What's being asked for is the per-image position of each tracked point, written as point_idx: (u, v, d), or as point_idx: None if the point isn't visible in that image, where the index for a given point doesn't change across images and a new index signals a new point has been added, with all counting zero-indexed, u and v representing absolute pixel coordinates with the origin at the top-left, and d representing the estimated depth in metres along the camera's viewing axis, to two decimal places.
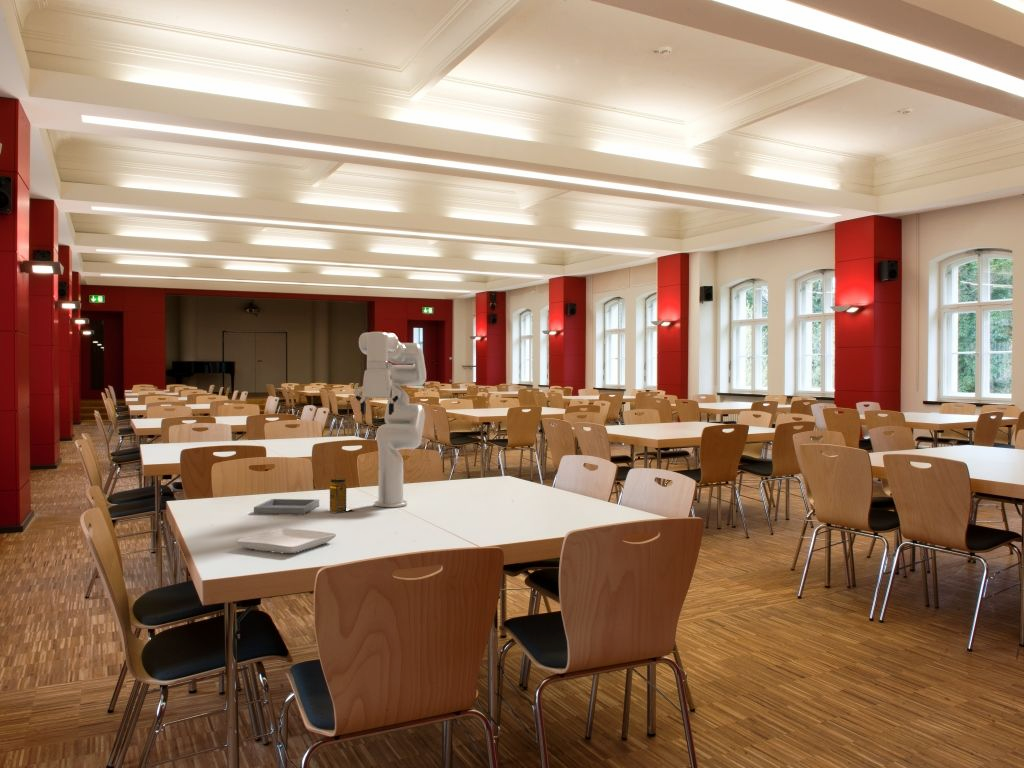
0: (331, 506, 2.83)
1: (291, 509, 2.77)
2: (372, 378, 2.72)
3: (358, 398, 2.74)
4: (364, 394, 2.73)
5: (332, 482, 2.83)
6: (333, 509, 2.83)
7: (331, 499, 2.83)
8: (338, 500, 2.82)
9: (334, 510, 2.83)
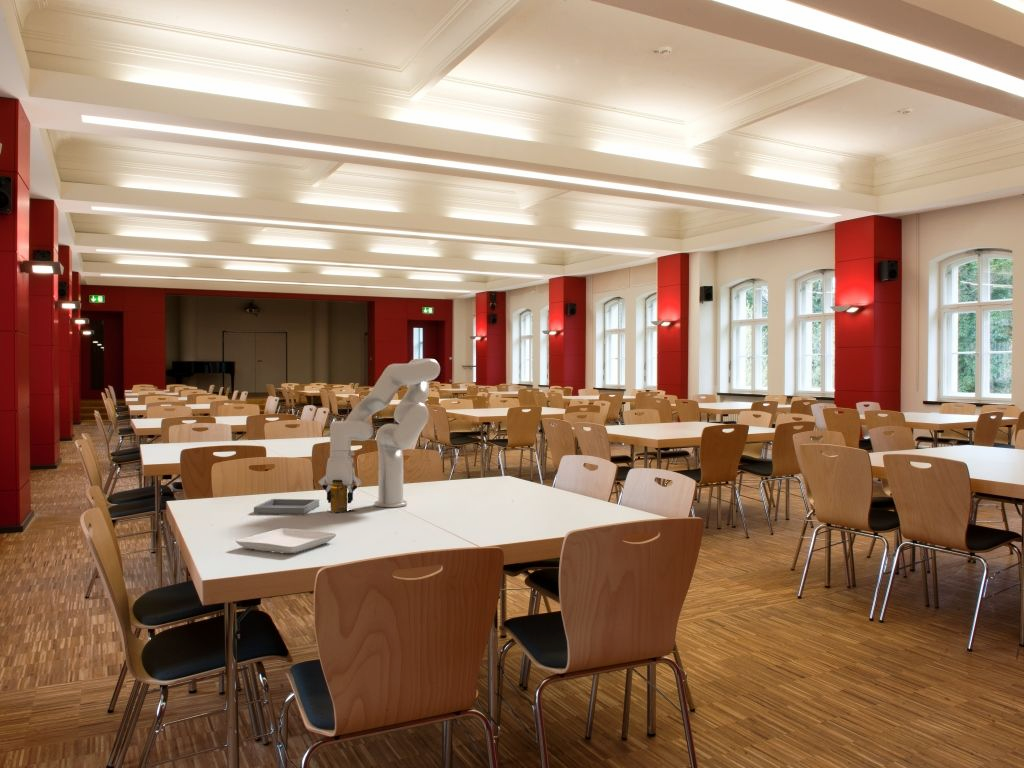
0: (332, 506, 2.83)
1: (291, 509, 2.77)
2: (334, 466, 2.83)
3: (324, 487, 2.85)
4: (327, 481, 2.84)
5: (333, 482, 2.83)
6: (334, 509, 2.83)
7: (332, 499, 2.83)
8: (339, 500, 2.82)
9: (335, 510, 2.82)
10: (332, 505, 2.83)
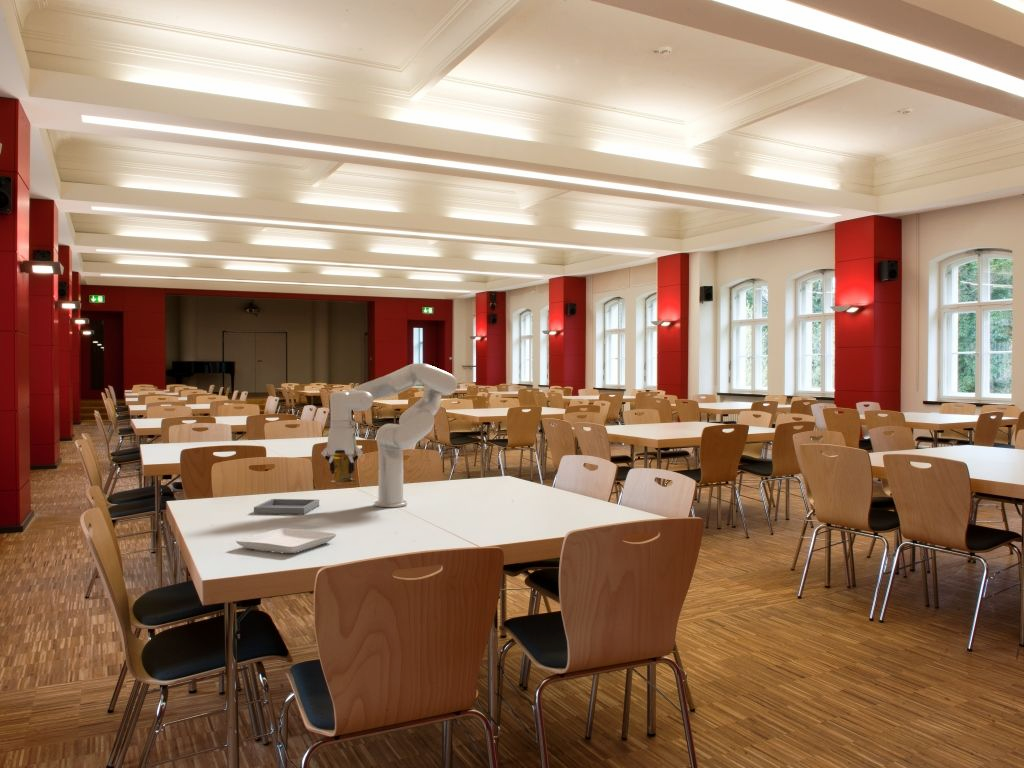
0: (335, 476, 2.84)
1: (291, 509, 2.77)
2: (336, 437, 2.83)
3: (327, 458, 2.85)
4: (329, 452, 2.84)
5: (335, 453, 2.83)
6: (337, 479, 2.83)
7: (335, 469, 2.83)
8: (342, 470, 2.83)
9: (338, 480, 2.83)
10: (335, 475, 2.83)
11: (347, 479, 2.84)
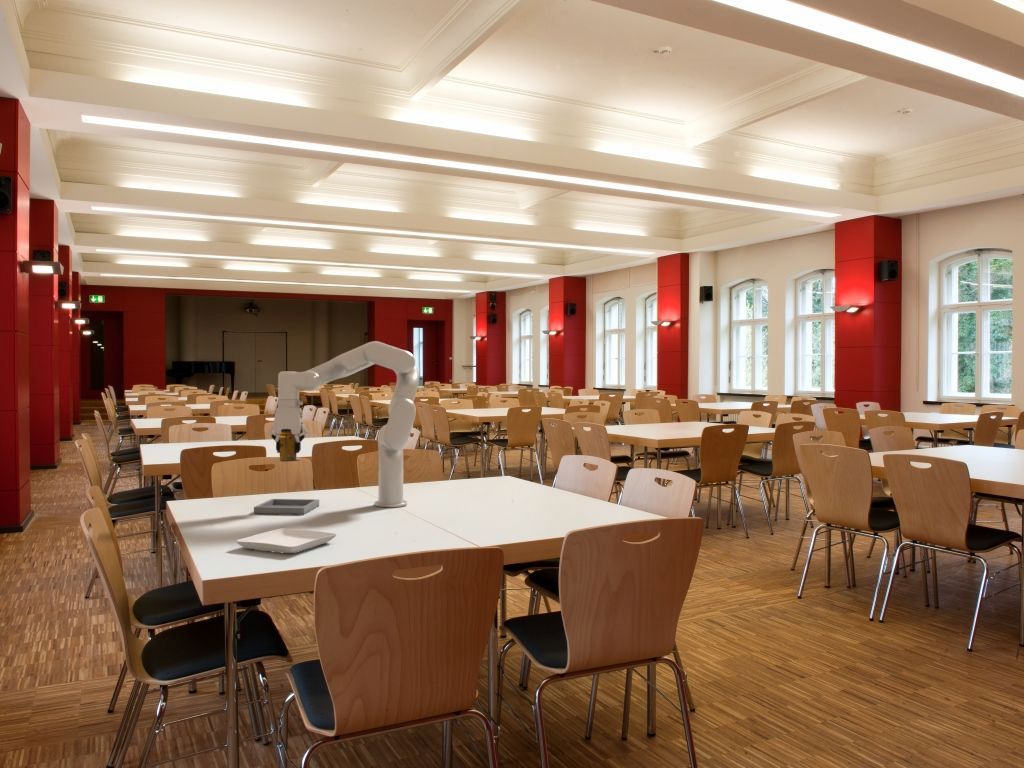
0: (281, 455, 2.84)
1: (291, 509, 2.77)
2: (282, 416, 2.84)
3: (274, 437, 2.86)
4: (275, 431, 2.85)
5: (281, 431, 2.84)
6: (283, 458, 2.83)
7: (281, 448, 2.84)
8: (287, 449, 2.83)
9: (284, 459, 2.83)
10: (281, 454, 2.84)
11: (292, 458, 2.84)
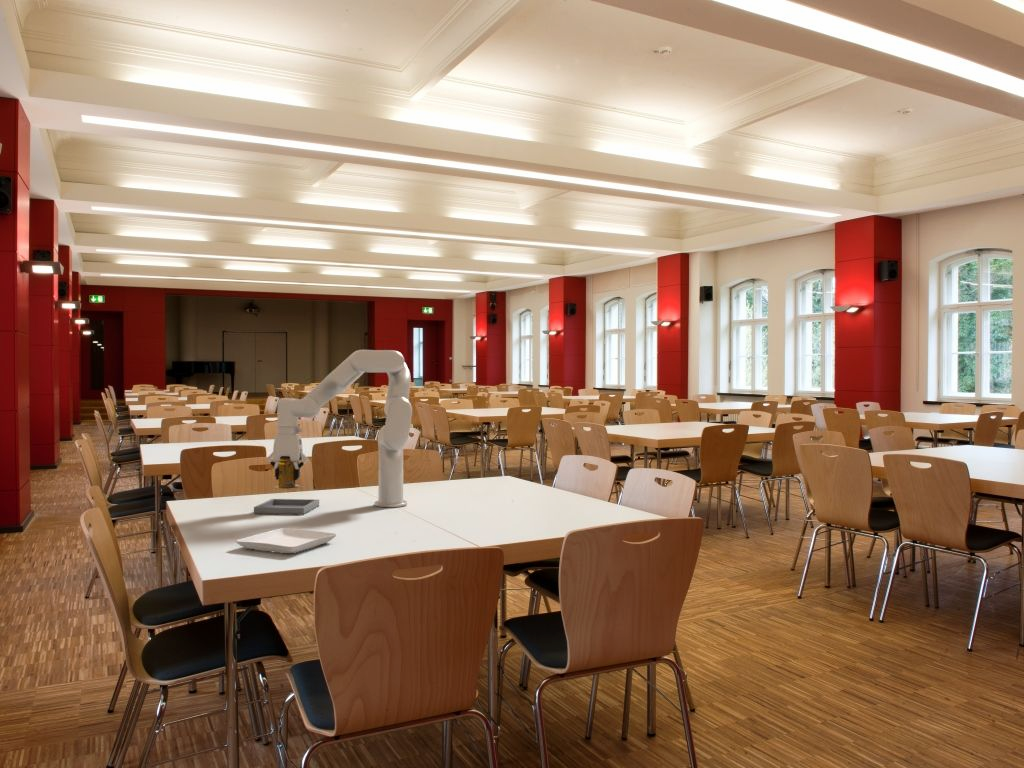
0: (280, 482, 2.84)
1: (291, 509, 2.77)
2: (281, 443, 2.84)
3: (273, 464, 2.86)
4: (274, 458, 2.85)
5: (280, 458, 2.84)
6: (281, 485, 2.83)
7: (280, 475, 2.84)
8: (286, 476, 2.83)
9: (282, 486, 2.83)
10: (280, 481, 2.84)
11: (291, 485, 2.84)
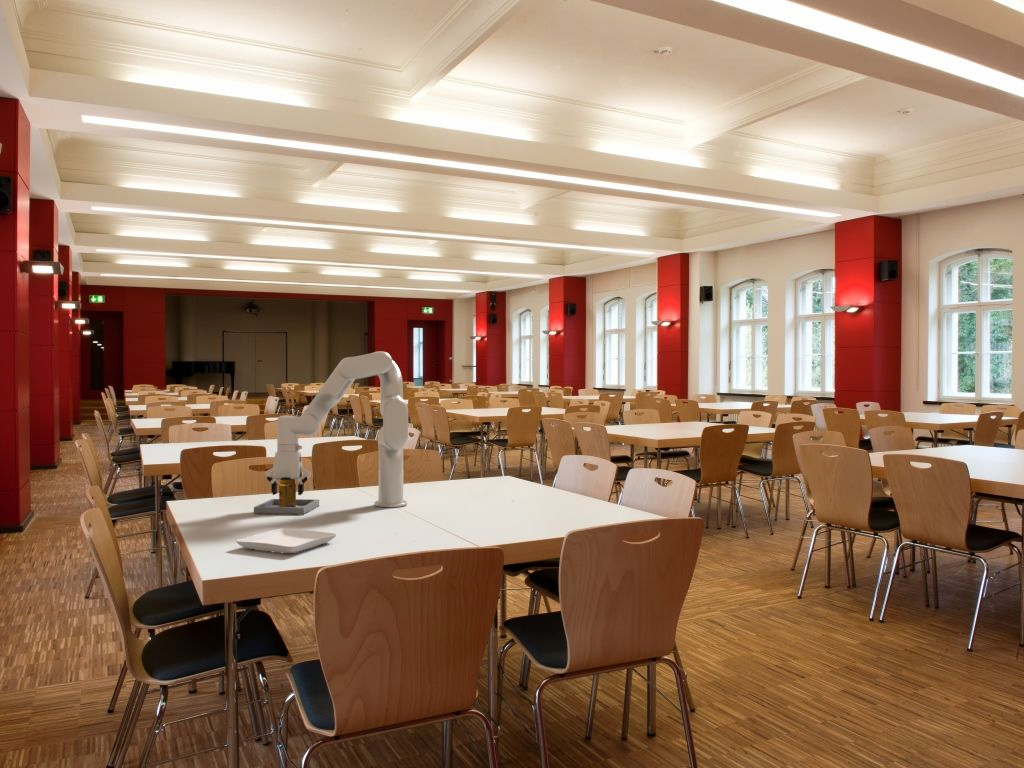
0: (280, 504, 2.84)
1: (291, 509, 2.77)
2: (281, 460, 2.84)
3: (269, 479, 2.86)
4: (274, 475, 2.85)
5: (281, 480, 2.84)
6: (282, 506, 2.84)
7: (280, 497, 2.84)
8: (287, 497, 2.84)
9: None
10: (281, 503, 2.84)
11: (292, 506, 2.85)
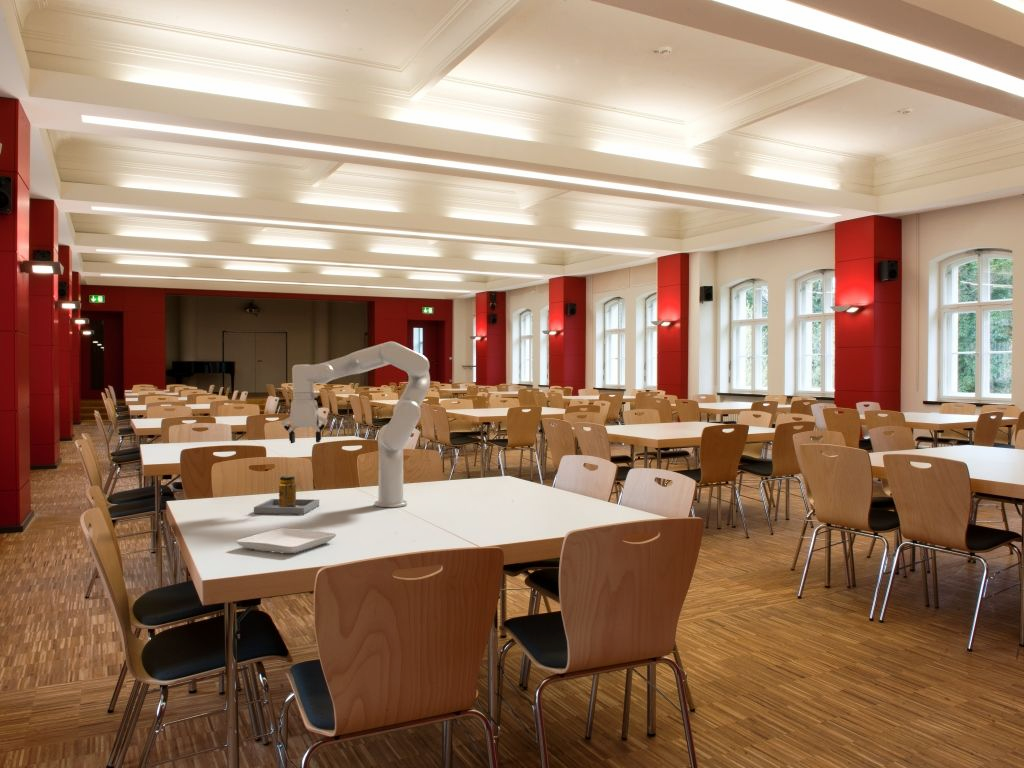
0: (280, 504, 2.84)
1: (291, 509, 2.77)
2: (298, 409, 2.87)
3: (286, 428, 2.89)
4: (292, 424, 2.87)
5: (281, 480, 2.84)
6: (282, 506, 2.84)
7: (280, 497, 2.84)
8: (287, 497, 2.84)
9: None
10: (281, 503, 2.84)
11: (292, 506, 2.85)
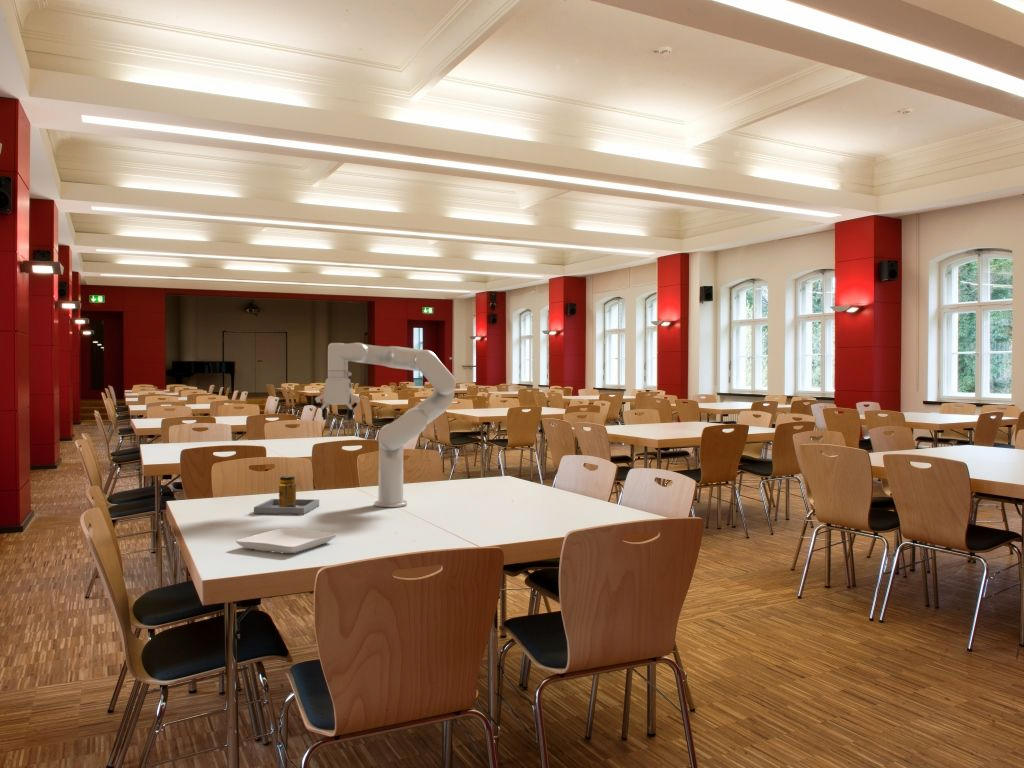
0: (280, 504, 2.84)
1: (291, 509, 2.77)
2: (332, 386, 2.93)
3: (320, 404, 2.95)
4: (325, 401, 2.94)
5: (281, 480, 2.84)
6: None
7: (280, 497, 2.84)
8: (287, 497, 2.84)
9: None
10: (281, 503, 2.84)
11: (292, 506, 2.85)
